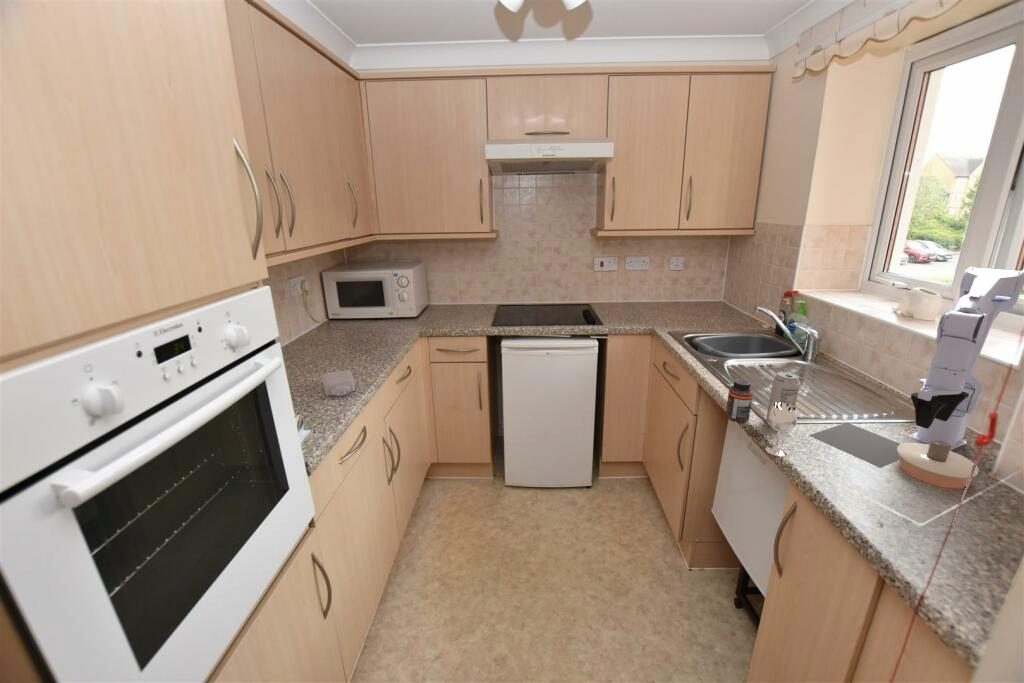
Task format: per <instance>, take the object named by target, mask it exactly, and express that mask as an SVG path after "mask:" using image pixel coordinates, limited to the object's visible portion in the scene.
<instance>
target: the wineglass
mask: <svg viewBox="0 0 1024 683" xmlns="http://www.w3.org/2000/svg"><path fill="white" fill-rule="evenodd" d="M797 413H798V412H797V408H796V407H794V406H792V405H790V404H787V403H780V402H777V403H774V404H773V406H772V407H771V409H770V412H769V415H768V423H769V425H770V426H769V425H768V426H769V427H770V428H771V429H773V430H774V431H776V432H777V433H776V442H775V445H774V446H765V452H767V453H768V454H770V455H772V456H775V457H785V456H787V453H785V452H783V450H782V449H781V448H779V442H780V439H781V437H782V433H788V432H789V433H790V432H792V431H793V430H794V429H795V427H796V425H797V423H798V422H797V420H798V418H797V416H798V414H797Z"/></svg>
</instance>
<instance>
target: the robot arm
mask: <svg viewBox="0 0 1024 683" xmlns="http://www.w3.org/2000/svg"><path fill="white" fill-rule="evenodd" d="M1023 288H1024V270H1020V271H1019V270H1007V269H997V268H995V269H993V268H982V267H980V268H979V267H974V266H970V267H968V268H967V269H965V270H964V273H963V276H962V278H961V280H960V286H959V296H958V298H959V299H957V301H956V302H955V304H954V306H953V307H952V308H951V309H950V311H949V312H944V313H943V314H942V315H941V317H940V319H939V321H938V325H937V330H936V339H935V345H936V346H935V349H934V352H933V355H932V359H931V363H930V366H929V369H928V371H927V376H926V378H921V379H918V384H921V385H922V388H920V389H919V390H918V392H914V393H911V395H910V399H911V401H912V404H913V407H914V413H915V425H916V426H918V429H917V431H916V432H914V433H912V434H909V435H908V437H909V438H911V439H914V440H916V441H919V442H920V443H921V442H922V443H923V444H928V445H930V442H931V441H932V440H938V441H942V442H945V443H947V444H949V445H950V446H951V448H950V451H953V450H954V449H957V448H959V447H962V446H963V445H964V446H965V445H967V444H968V442H967V441H965V440H963V439H964V436H965V433H966V431H967V427H968V425H969V421H970V417H969V415H973V414H976V411H977V409H978V407H979V404H980V402H981V399H982V395H983V391H984V384H983V382H981V380H979V379H978V378H977V377H976V376H975V375H974V374H973V372H974V369H975V367H976V364H977V362H978V360H979V357H980V354H981V352H982V350H983V347H984V345H985V342H986V340H987V337H988V336H989V332H990V330H991V328H992V325H993V322H994V320H996V319H997V317H998V316H999V314H1000V313H1001V312H1005V311H1009V310H1012V309H1013V308H1014V306H1015V305H1016V304H1017V302H1018V299H1019V297H1020V295H1021V293H1022V291H1023Z"/></svg>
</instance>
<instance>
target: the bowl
mask: <svg viewBox="0 0 1024 683" xmlns="http://www.w3.org/2000/svg"><path fill="white" fill-rule="evenodd" d="M898 462H899V467H900V469H901V470H902V471H904V472H905V473H907V474H908V475H909V476H910V477H912V478H914V479H917V480H920V481H922V482H924V483H926V484H929V485H933V486H937V487H940V488H945V489H958V490H959V489H964V488H965V486H966V484H967V482H968V479H969V478H954V477H948V476H943V475H939V474H935V473H932V472H929V471H926V470H924V469H921V468H919V467H916V466H914V465H912V464H910V463H909V462H907V461H905V460H904V459H903V458H901V457H900V460H898ZM966 487H967V486H966Z"/></svg>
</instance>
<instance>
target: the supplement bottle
mask: <svg viewBox="0 0 1024 683" xmlns="http://www.w3.org/2000/svg"><path fill="white" fill-rule="evenodd" d="M751 385H752V384H751V381H749V380H746V379H743V378H737V379H734V381H733V385H732V386H730V387H729V389H728V394H727V402H726V406H725V407H726V408H725V418H726V419H727V420H728V421H731V422H734V423H735V422H738V423H747V422H748V421H749V420H750V414H751V408H752V402H753V397H754V393H753V392H754V391H753V390H752V389H751Z"/></svg>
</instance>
